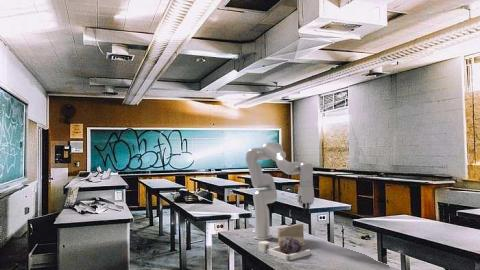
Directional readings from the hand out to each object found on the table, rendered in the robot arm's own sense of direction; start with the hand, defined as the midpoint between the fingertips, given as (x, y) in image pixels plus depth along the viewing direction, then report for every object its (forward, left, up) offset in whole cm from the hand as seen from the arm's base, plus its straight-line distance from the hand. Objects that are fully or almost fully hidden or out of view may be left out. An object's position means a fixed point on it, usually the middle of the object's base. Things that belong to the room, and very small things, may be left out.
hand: (306, 214), depth 225 cm
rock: (+2, -14, -21) cm, 25 cm away
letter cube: (-13, -22, -20) cm, 33 cm away
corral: (+1, -15, -20) cm, 25 cm away
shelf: (-10, -3, -20) cm, 23 cm away
